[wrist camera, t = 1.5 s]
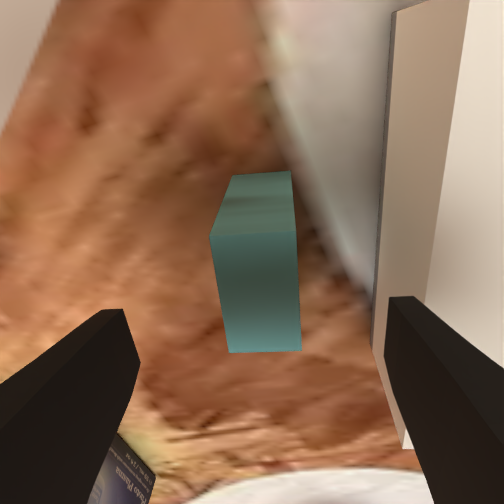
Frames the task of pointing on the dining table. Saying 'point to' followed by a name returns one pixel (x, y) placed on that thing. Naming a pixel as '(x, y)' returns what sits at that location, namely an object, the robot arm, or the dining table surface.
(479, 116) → the money box
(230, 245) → the block
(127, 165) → the dining table surface
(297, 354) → the dining table surface
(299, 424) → the dining table surface
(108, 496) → the small box
